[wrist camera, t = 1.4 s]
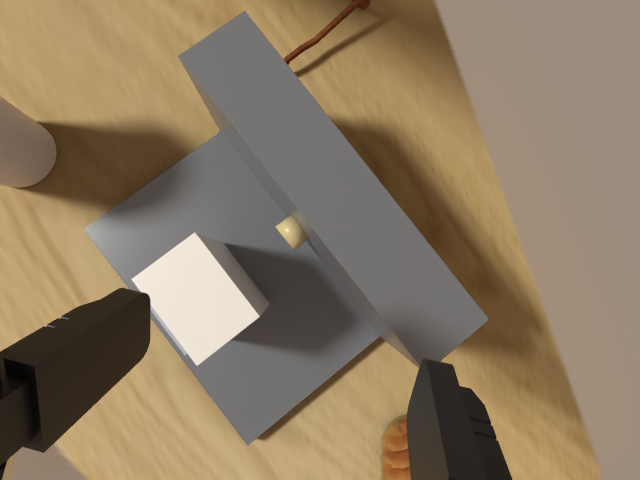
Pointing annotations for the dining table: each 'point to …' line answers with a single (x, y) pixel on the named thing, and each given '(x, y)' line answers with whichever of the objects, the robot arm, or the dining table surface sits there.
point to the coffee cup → (23, 148)
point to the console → (288, 237)
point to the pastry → (395, 451)
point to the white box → (201, 295)
